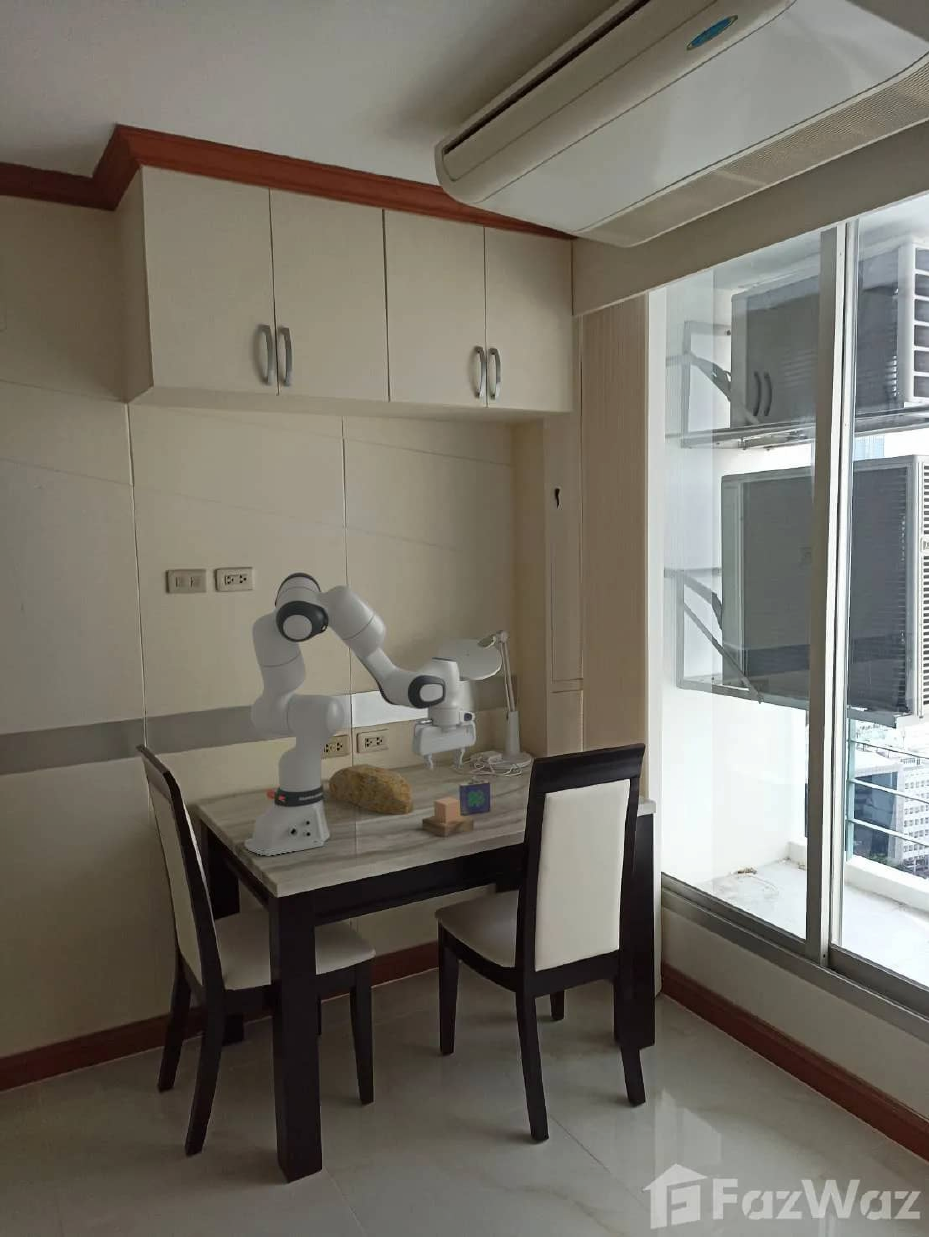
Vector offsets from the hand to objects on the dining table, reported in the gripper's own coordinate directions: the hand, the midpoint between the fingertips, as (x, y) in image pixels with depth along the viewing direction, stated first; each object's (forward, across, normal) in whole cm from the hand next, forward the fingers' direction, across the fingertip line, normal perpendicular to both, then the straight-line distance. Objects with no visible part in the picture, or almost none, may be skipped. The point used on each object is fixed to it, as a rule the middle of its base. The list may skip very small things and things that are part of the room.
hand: (444, 766), depth 252 cm
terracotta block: (+14, 0, -1) cm, 14 cm away
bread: (+17, 0, +35) cm, 39 cm away
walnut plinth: (+17, 0, -1) cm, 17 cm away
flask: (+17, +14, +4) cm, 22 cm away
